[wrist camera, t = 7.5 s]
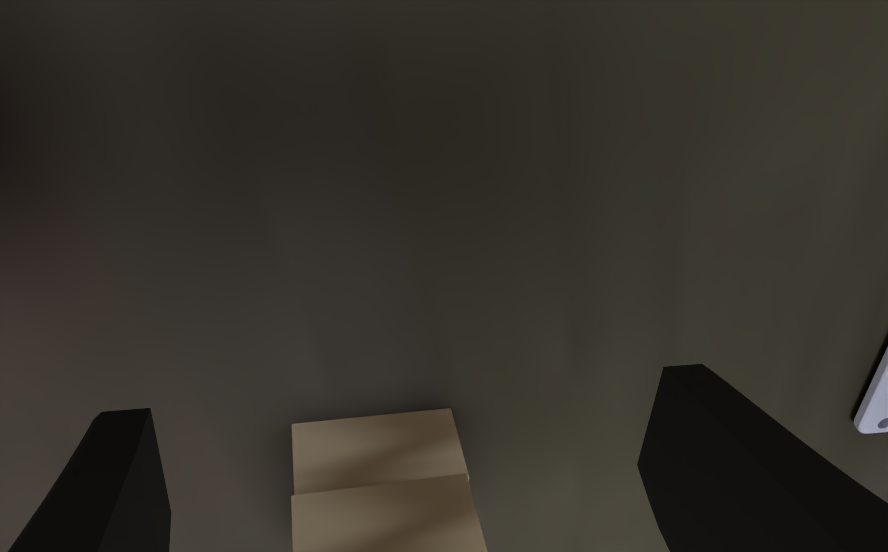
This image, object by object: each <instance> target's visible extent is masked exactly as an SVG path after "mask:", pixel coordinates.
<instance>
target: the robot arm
mask: <svg viewBox="0 0 888 552" xmlns="http://www.w3.org/2000/svg"><path fill="white" fill-rule="evenodd" d="M854 425H855V427H856V428H857V429H858V430H859V432H861V433H865V434H869V433H879V432H888V347H887V349H886V351H885V354H884V356H883V358H882V360H881V362H880V364H879V367H878V369H877V371H876V373H875V375H874V377H873V380H872V382H871V384H870V386H869V388H868V390H867V393H866V395H865V397H864V399H863V401H862V403H861V405H860V408H859V410H858V412H857V414H856V416H855V419H854ZM637 466H638V469H639V472H640V475H641V478H642V481H643V484H644V487H645V490H646V493H647V496H648V499H649V502H650V505H651V508H652V510H653V513H654V516H655V519H656V521H657V524H658V527H659V529H660V531H661V534H662V536H663V538H664V540H665V542H666V544H667V546H668V548H669V550H670V552H888V503H886V502H885V501H883V500H882V499H881V498H879V497H878V496H876V495H875V494H873V493H872V492H870V491H869V490H868V489H866V488H865V487H863V486H862V485H860V484H859V483H858V482H856V481H855V480H853V479H852V478H851V477H849V476H848V475H847V474H845V473H844V472H842V471H841V470H840V469H838V468H837V467H836V466H834V465H833V464H832V463H830V462H829V461H827V460H826V459H825V458H823V457H822V456H821V455H819V454H818V453H817V452H816V451H814V450H813V449H812V448H810V447H809V446H808V445H806V444H805V443H804V442H802V441H801V440H800V439H799V438H797V437H796V436H795V435H793V434H792V433H791V432H790V431H788V430H787V429H786V428H784V427H783V426H782V425H781V424H779V423H778V422H777V421H775V420H774V419H773V418H772V417H770V416H769V415H768V414H767V413H765V412H764V411H763V410H761V409H760V408H759V407H758V406H756V405H755V404H754V403H753V402H751V401H750V400H749V399H748V398H746V397H745V396H744V395H742V394H741V393H740V392H739V391H737V390H736V389H735V388H734V387H732V386H731V385H730V384H728V383H727V382H726V381H725V380H723V379H722V378H721V377H719V376H718V375H717V374H715V373H714V372H713V371H711V370H710V369H708V368H707V367H706V366H704V365H703V364H695V365H682V366H670V367H663V371H662V375H661V378H660V382H659V386H658V390H657V393H656V397H655V401H654V404H653V408H652V412H651V415H650V419H649V423H648V427H647V430H646V434H645V438H644V441H643V445H642V449H641V453H640V456H639V460H638V464H637ZM170 525H171V509H170V504H169V499H168V494H167V489H166V484H165V479H164V474H163V469H162V464H161V459H160V454H159V449H158V444H157V439H156V434H155V429H154V424H153V419H152V414H151V409H150V408H145V409H132V410H120V411H107V412H101V413H100V414H99V415H98V416H97V417H96V418H95V419H94V420H93V422H92V423H91V425H90V427H89V428H88V430H87V432H86V434H85V435H84V437H83V439H82V440H81V442H80V444H79V445H78V447H77V449H76V450H75V452H74V454H73V455H72V457H71V458H70V460H69V462H68V463H67V465H66V466H65V468H64V470H63V471H62V473H61V474H60V476H59V477H58V479H57V480H56V482H55V484H54V485H53V487H52V488H51V490H50V491H49V493H48V494H47V496H46V497H45V499H44V500H43V502H42V503H41V505H40V506H39V508H38V509H37V511H36V512H35V513H34V515H33V516H32V518H31V519H30V521H29V522H28V524H27V525H26V526H25V528H24V529H23V531H22V532H21V534H20V535H19V536H18V538H17V539H16V541H15V542H14V544H13V545H12V547H11V548H10V549H9V551H8V552H169V543H170Z"/></svg>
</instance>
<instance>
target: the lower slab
mask: <svg viewBox="0 0 888 552" xmlns="http://www.w3.org/2000/svg"><path fill="white" fill-rule="evenodd" d="M292 447H293V473H294V495H300V494H308V493H316V492H324V491H332V490H340V489H347V488H355V487H363V486H371V485H379V484H386V483H394V482H402V481H410V480H418V479H425V478H433V477H441V476H449V475H457V474H464V473H467V477H468V481H469V474H468V470H467V467H466V463H465V459H464V456H463V452H462V448H461V444H460V441H459V437H458V433H457V430H456V426H455V422H454V418H453V415H452V411H451V408H446V409H436V410H426V411H416V412H406V413H396V414H386V415H376V416H366V417H356V418H346V419H336V420H326V421H317V422H307V423H297V424H292Z"/></svg>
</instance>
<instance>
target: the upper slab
mask: <svg viewBox="0 0 888 552" xmlns="http://www.w3.org/2000/svg"><path fill="white" fill-rule="evenodd" d="M291 507H292V536H293V552H487V548H486V545H485V541H484V537H483V533H482V530H481V526H480V522H479V518H478V515H477V511H476V507H475V503H474V500H473V496H472V492H471V488H470V485H469V481H468V477H467V473H464V474H457V475H449V476H441V477H433V478H425V479H418V480H410V481H402V482H394V483H386V484H379V485H371V486H363V487H355V488H347V489H340V490H332V491H324V492H316V493H308V494H300V495H293V496H291Z"/></svg>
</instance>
